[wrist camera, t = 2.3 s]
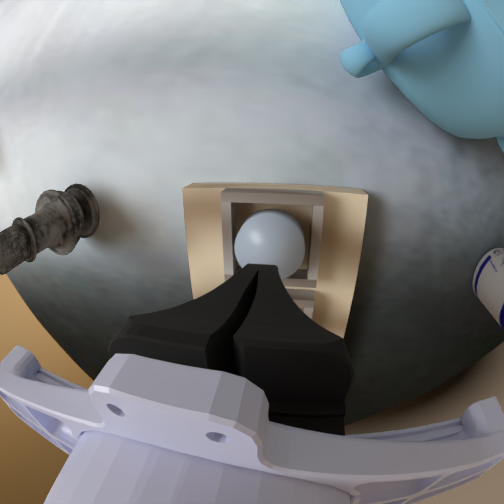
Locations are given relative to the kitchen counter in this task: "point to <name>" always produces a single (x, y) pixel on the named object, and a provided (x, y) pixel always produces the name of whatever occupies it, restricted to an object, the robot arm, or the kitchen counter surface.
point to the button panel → (315, 238)
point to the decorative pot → (436, 58)
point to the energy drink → (491, 283)
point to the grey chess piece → (50, 226)
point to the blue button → (271, 241)
